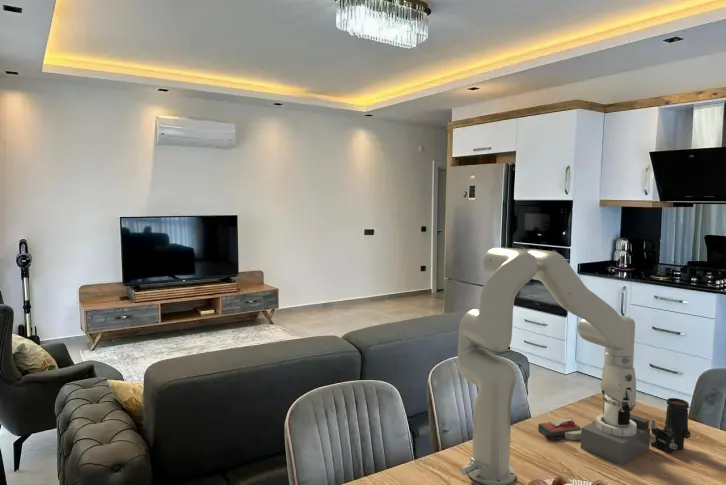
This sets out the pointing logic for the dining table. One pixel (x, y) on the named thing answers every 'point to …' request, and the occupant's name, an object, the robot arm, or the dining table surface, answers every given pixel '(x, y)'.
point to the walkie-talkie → (560, 429)
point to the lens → (612, 411)
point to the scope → (672, 427)
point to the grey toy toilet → (616, 439)
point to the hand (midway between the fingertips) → (616, 418)
